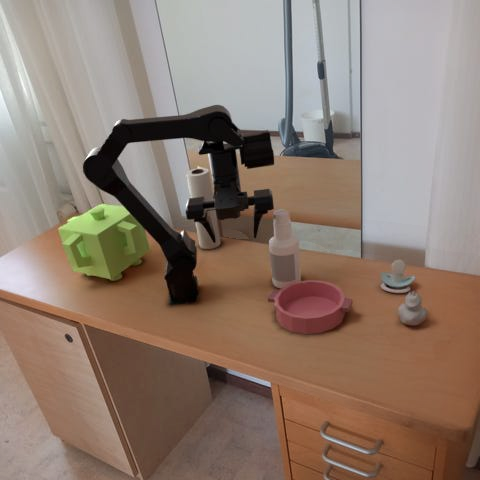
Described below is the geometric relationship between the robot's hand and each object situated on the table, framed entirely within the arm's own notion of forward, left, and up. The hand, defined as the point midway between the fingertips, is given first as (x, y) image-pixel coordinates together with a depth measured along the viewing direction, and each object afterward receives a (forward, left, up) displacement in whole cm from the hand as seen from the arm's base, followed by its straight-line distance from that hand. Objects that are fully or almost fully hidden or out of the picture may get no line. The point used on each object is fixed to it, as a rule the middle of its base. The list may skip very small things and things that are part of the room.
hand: (234, 239), depth 111 cm
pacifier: (+35, -6, -13) cm, 38 cm away
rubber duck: (+35, -19, -13) cm, 42 cm away
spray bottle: (+11, +1, -13) cm, 17 cm away
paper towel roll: (-9, +26, -13) cm, 30 cm away
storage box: (-36, +18, -13) cm, 42 cm away
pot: (+15, -13, -13) cm, 24 cm away
